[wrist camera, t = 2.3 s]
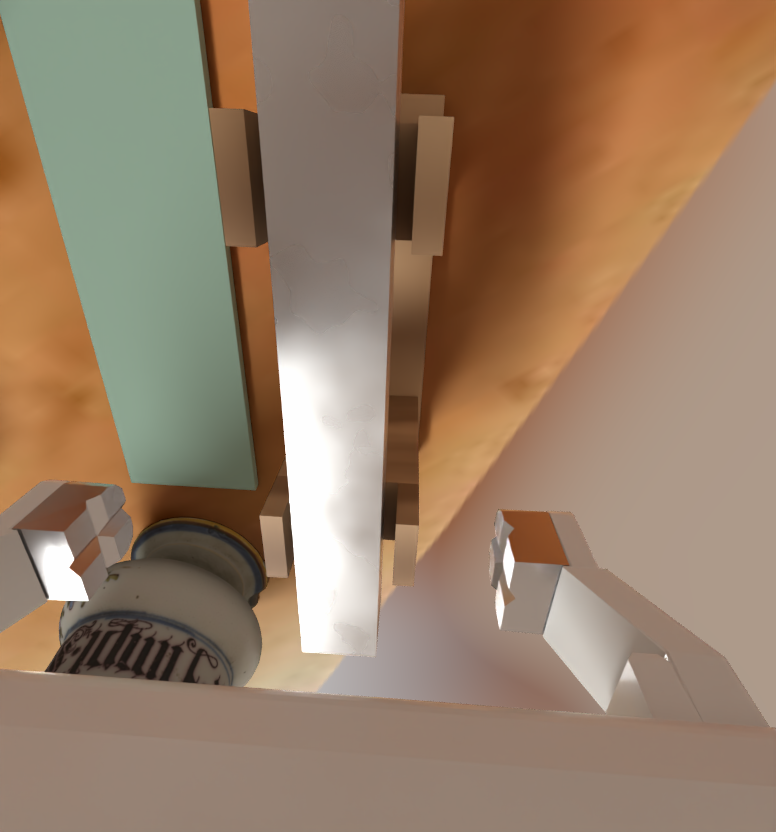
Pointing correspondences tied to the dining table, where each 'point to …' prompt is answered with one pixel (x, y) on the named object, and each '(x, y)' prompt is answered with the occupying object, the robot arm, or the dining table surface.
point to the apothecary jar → (171, 610)
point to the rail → (332, 289)
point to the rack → (414, 248)
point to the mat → (142, 224)
